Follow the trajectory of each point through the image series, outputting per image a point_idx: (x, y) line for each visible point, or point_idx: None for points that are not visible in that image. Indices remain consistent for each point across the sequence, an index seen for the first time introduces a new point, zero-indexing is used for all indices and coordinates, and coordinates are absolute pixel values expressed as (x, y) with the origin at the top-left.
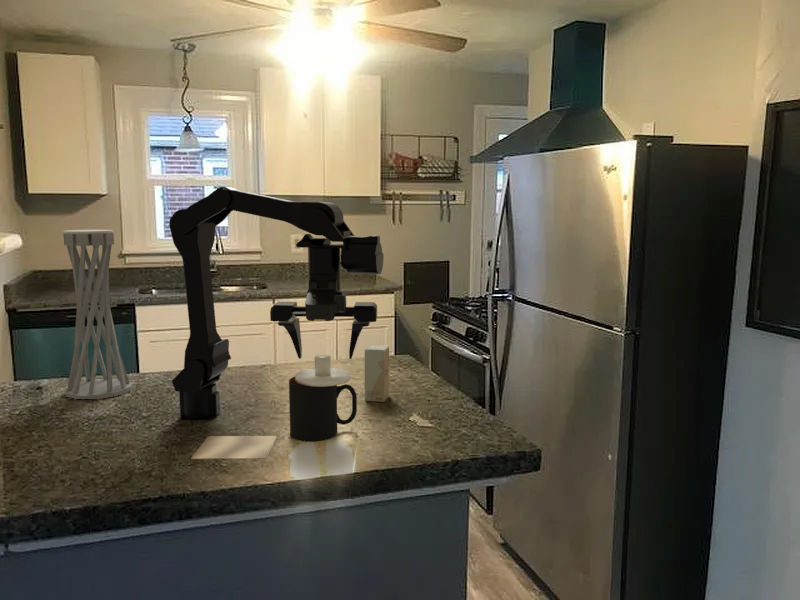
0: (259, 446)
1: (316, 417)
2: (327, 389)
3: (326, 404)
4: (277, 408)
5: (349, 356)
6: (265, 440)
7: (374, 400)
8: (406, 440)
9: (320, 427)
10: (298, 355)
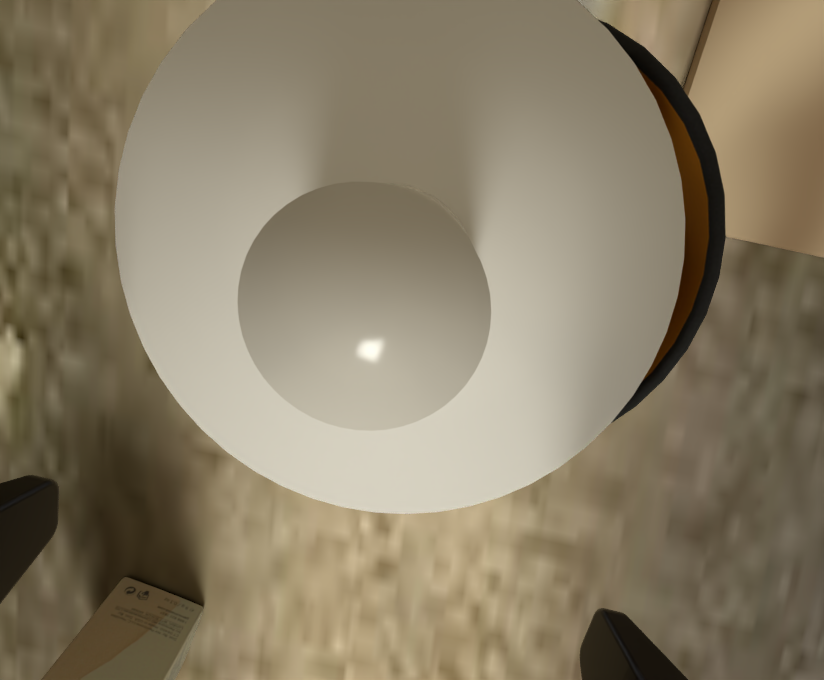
0: (759, 82)
1: None
2: None
3: None
4: (577, 605)
5: (32, 488)
6: None
7: (161, 593)
8: (39, 68)
9: None
10: (638, 635)
